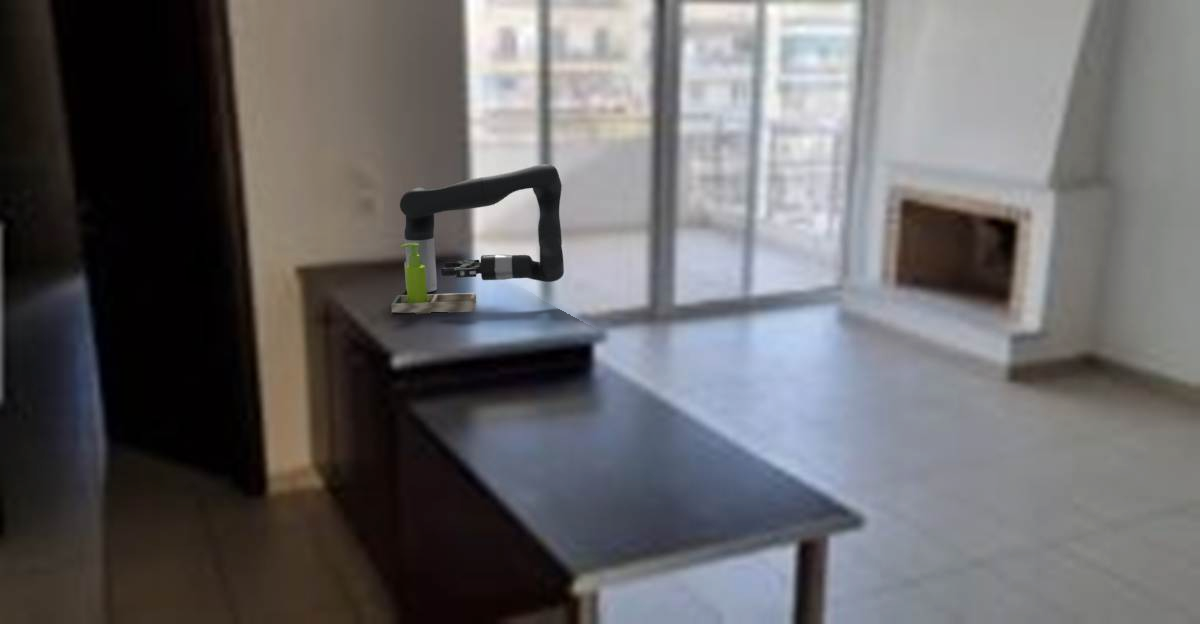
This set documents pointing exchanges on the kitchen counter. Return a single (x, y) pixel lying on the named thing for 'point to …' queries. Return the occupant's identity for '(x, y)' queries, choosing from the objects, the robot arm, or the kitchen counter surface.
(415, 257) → the soap dispenser
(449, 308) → the caddy
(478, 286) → the kitchen counter surface
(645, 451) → the kitchen counter surface
